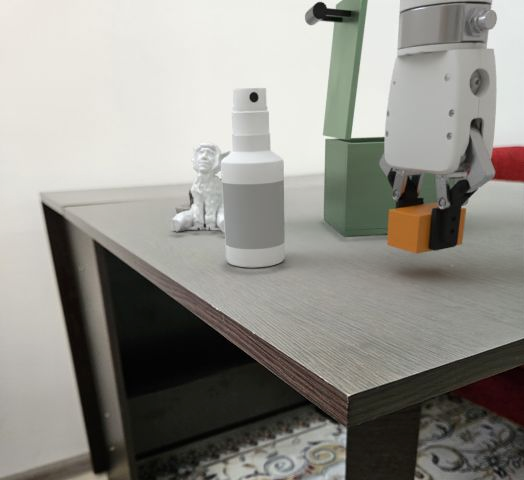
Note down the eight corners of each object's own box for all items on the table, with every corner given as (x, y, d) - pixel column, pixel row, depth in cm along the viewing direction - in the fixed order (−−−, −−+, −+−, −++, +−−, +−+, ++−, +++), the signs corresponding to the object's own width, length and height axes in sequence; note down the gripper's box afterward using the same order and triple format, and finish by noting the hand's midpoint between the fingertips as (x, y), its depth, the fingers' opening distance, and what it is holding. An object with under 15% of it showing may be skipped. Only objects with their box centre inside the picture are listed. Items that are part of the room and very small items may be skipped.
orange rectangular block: (431, 236, 56) (434, 202, 55) (462, 244, 53) (466, 208, 51) (386, 244, 54) (388, 209, 52) (416, 253, 50) (419, 216, 49)
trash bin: (418, 214, 84) (426, 135, 79) (453, 230, 73) (465, 139, 68) (323, 219, 82) (325, 138, 77) (344, 236, 71) (347, 143, 66)
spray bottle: (233, 271, 57) (224, 87, 50) (220, 256, 63) (210, 90, 56) (292, 264, 59) (291, 86, 51) (274, 251, 65) (271, 89, 57)
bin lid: (341, 5, 71) (301, 1, 70) (369, -16, 59) (321, -21, 58) (327, 135, 77) (290, 133, 77) (350, 139, 66) (307, 137, 65)
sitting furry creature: (168, 232, 77) (159, 144, 72) (188, 220, 84) (182, 141, 79) (230, 233, 75) (225, 143, 70) (245, 221, 82) (242, 139, 77)
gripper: (559, 21, 40) (520, 254, 48) (410, 46, 54) (398, 224, 62) (488, 20, 37) (459, 268, 45) (349, 46, 51) (345, 233, 59)
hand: (424, 241), depth 53 cm, fingers closed on orange rectangular block, 4 cm apart
